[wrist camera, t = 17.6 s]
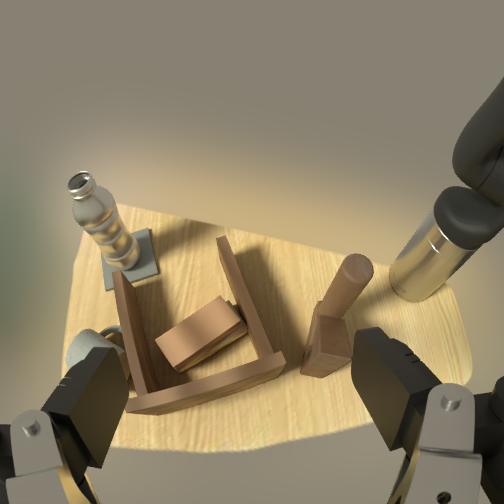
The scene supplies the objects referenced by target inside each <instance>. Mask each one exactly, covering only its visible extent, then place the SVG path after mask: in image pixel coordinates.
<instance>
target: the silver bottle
mask: <svg viewBox="0 0 504 504" xmlns="http://www.w3.org/2000/svg"><path fill="white" fill-rule="evenodd" d="M67 189H68V191H69V192H70V195H71V197H72V199H73V200H74V201H73V207H72V211H73V216H74V219H75V220H76V222H77V223H78V224H79V225H80V226H81V227H82V228H83V229H84V230H85V231H86V232H87V233H88V234H89V235H90V236H91V237H92V238H93V239H94V241H95V242H96V243H97V245H98V246H99V248H100V250H101V252H102V254H103V257H104V259H105V261H106V262H107V264H108V265H110V266H111V267H112V268H114V269H116V270H127V269H130V268H132V267H133V266H134V265H135V264H136V263H137V262H138V260H139V258H140V255H141V250H140V246H139V243H138V241H137V240H136V238H135V237H134V236H133V235H132V234H131V233H130V232H129V231H128V230H127V228H126V227H125V225H124V224H123V222H122V220H121V218H120V216H119V213H118V210H117V207H116V204H115V200H114V198H113V196H112V194H111V193H110V192H109V191H108V190H107V189H105V188H103V187H101V186H97V185H96V182H95V180H94V179H93V178H92V176H91V174H90V173H89V172H87V171H81V172H79V173H77V174H75V175H74V176H72V177H71V178H70V180H69V181H68V183H67Z"/></svg>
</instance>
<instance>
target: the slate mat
mask: <svg viewBox="0 0 504 504" xmlns="http://www.w3.org/2000/svg"><path fill="white" fill-rule="evenodd" d="M131 234H132V235H133V236H134V237H135V238H136V240H137V241H138V243H139V246H140V250H141V255H140V258H139V260H138V262H137V263H136V264H135V265H134V266H133V267H132V268H130V269H127V270H121V271H122V272H123V274H124V275H125V276H126V278H127V279H128V280H129V282H130V283H134V282H137V281H140V280H143V279H146V278H149V277H152V276H155V275H158V270H157V265H156V261H155V256H154V252H153V247H152V243H151V238H150V233H149V229H148V228H146V229H143V230H140V231H137V232H134V233H131ZM101 257H102V267H103V276H104V284H105V290H106V291H110V290H113V289H114V285H113V278H112V272H115V271H118V270H116V269H114V268H112V267H111V266H110V265H108V264H107V262H106V261H105V259H104V257H103V254H102V252H101Z"/></svg>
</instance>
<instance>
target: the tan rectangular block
mask: <svg viewBox="0 0 504 504" xmlns="http://www.w3.org/2000/svg"><path fill="white" fill-rule="evenodd" d="M247 332H248V327H247V325H246V324H245V322H244V321H243V320H242V318H241V317H240V315H239V314H238V313H237V311H236V310H235V308H234V307H233V305H232V304H231V303H230V301H229V300H228V301H226V302H225V301H224V299H223V298H222V297H221V296H218V297H217V298H216V299H214V300H213V301H211V302H210V303H208V304H207V305H205V306H204V307H202V308H201V309H200V310H198V311H197V312H195V313H194V314H192V315H191V316H189V317H188V318H186V319H185V320H183V321H182V322H181V323H179V324H178V325H176V326H175V327H173V328H172V329H170V330H169V331H167V332H166V333H164V334H163V335H161V336H160V337H158V338H157V339H155V341H156V343H157V344H158V346H159V347H160V349H161V350H162V352H163V353H164V355H165V356H166V358H167V359H168V361H169V362H170V364H171V365H172V367H173V368H175V370H176V371H177V372H179V373H182V372H183V371H185V370H187V369H189V368H190V367H192V366H194V365H195V364H197V363H199V362H200V361H202V360H204V359H205V358H207V357H209V356H210V355H212V354H214V353H215V352H217V351H219V350H220V349H222V348H224V347H225V346H227V345H228V344H230V343H232V342H233V341H235V340H236V339H238V338H240V337H241V336H243V335H244V334H246V333H247Z"/></svg>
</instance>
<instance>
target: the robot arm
mask: <svg viewBox="0 0 504 504" xmlns="http://www.w3.org/2000/svg"><path fill="white" fill-rule="evenodd" d="M452 163H453V169H454V171H455V174H456V175H457V176H458V177H459V178H460V180H461V181H463V182H464V183H465V184H466V185H468V186H469V187H471V188H472V189H469V188H465V187H459V186H453V187H449V188H447V189H445V190H444V191H443V192H442V193H441V194H440V196H439V197H438V199H437V201H436V202H435V203H434V205H433V207H432V208H431V210H430V211H429V213H428V214H427V216H426V217H425V219H424V220H423V222H422V223H421V225H420V226H419V228H418V229H417V230H416V232H415V234H414V235H413V236H412V238H411V239H410V240H409V242H408V243H407V245H406V246H405V247H404V249H403V250H402V252H401V253H400V254H399V256H398V257H397V258H396V260H395V261H394V262H393V264H392V265H391V268H390V272H389V277H390V282H391V285H392V287H393V289H394V290H395V292H396V293H397V294H398V295H399V296H400V297H401V298H403V299H404V300H407V301H409V302H421V301H423V300H425V299H426V298H427V297H428V296H430V295H431V294H432V293H433V292H434V291H435V290H436V289H438V288H439V287H440V286H441V285H442V284H443V283H444V282H445V281H446V280H447V279H448V278H449V277H451V275H453V274H454V273H455V271H457V270H458V269H459V268H460V267H461V266H462V265H463V264H464V263H465V262H466V261H467V260H468V259H469V258H470V257H471V256H472V255H473V254H474V253H475V252H476V251H477V250H478V249H479V248H480V247H481V246H482V244H484V243H486V242H488V241H490V240H491V239H492V238H494V237H495V236H496V234H497V233H499V231H500V230H501V229H502V228H504V77H503V79H502V80H501V82H500V83H499V85H498V86H497V87H496V89H495V90H494V91H493V92H492V94H491V95H490V96H489V97H488V98H487V100H486V101H485V102H484V103H483V105H482V106H481V107H480V108H479V109H478V111H477V112H476V113H475V114H474V116H473V117H472V118H471V119H470V121H469V122H468V123H467V125H466V126H465V128H464V129H463V131H462V133H461V135H460V137H459V139H458V140H457V143H456V145H455V148H454V152H453V159H452ZM64 377H65V378H63V379H62V380H61V382H60V383H59V386H57V387H56V389H55V390H54V392H53V393H52V394H51V396H50V397H49V398H48V400H47V401H46V403H45V404H44V406H43V407H42V409H41V410H29V411H26V412H24V413H21V414H20V415H18V416H17V417H16V418H15V419H14V420H13V422H12V424H11V425H5V424H4V425H2V424H0V504H101V503H100V501H99V499H98V497H97V495H96V493H95V491H94V489H93V486H92V484H91V482H90V480H89V478H88V476H87V474H86V473H85V471H86V469H87V466H90V467H95V468H99V469H101V468H102V465H103V463H104V460H105V457H106V455H107V452H108V449H109V447H110V444H111V441H112V439H113V436H114V434H115V431H116V429H117V426H118V424H119V421H120V418H121V416H122V414H123V411H124V409H125V406H126V404H127V401H128V398H129V387H128V383H127V380H126V377H125V374H124V371H123V368H122V365H121V361H120V358H119V355H118V352H117V350H116V349H115V348H114V347H93V348H92V349H91V350H90V352H89V353H88V354H87V356H86V357H85V358H84V360H81V361H79V362H78V363H76V364H75V365H74V366H72V367H71V368H70V369H69V371H68V372H67V373H66V375H65V376H64ZM351 377H352V381H353V384H354V386H355V388H356V390H357V392H358V394H359V395H360V397H361V399H362V401H363V403H364V404H365V406H366V408H367V410H368V412H369V413H370V415H371V417H372V419H373V421H374V423H375V424H376V426H377V428H378V429H379V432H380V434H381V435H382V437H383V439H384V441H385V443H386V445H387V447H388V448H389V450H390V451H393V450H396V449H399V448H402V447H403V448H404V450H405V451H406V454H405V455H404V458H403V460H402V464H401V467H400V470H399V473H398V475H397V478H396V481H395V484H394V486H393V489H392V492H391V494H390V497H389V499H388V502H387V504H477V503H478V496H479V489H480V485H481V486H482V488H483V490H484V492H485V493H486V495H487V497H488V499H489V500H490V502H491V504H504V376H503V377H501V378H500V379H498V381H497V382H496V384H495V387H494V389H493V391H492V392H490V393H483V394H477V395H473V394H472V393H471V392H470V391H469V390H468V389H467V388H465V387H463V386H461V385H458V384H454V383H445V384H443V383H442V382H441V381H440V380H439V379H438V378H437V377H436V376H435V375H434V374H433V373H432V371H431V370H430V369H429V368H428V367H427V366H426V365H425V364H424V363H423V362H422V361H420V359H419V358H418V357H417V356H416V355H415V354H414V352H413V351H412V350H411V349H410V348H409V347H408V346H407V345H406V344H404V343H402V342H400V341H398V340H396V339H394V338H392V339H390V338H389V337H388V336H387V335H386V334H385V333H384V332H383V331H382V330H381V328H379V327H374V328H368V329H362V330H357V331H356V333H355V338H354V348H353V357H352V365H351Z"/></svg>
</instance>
